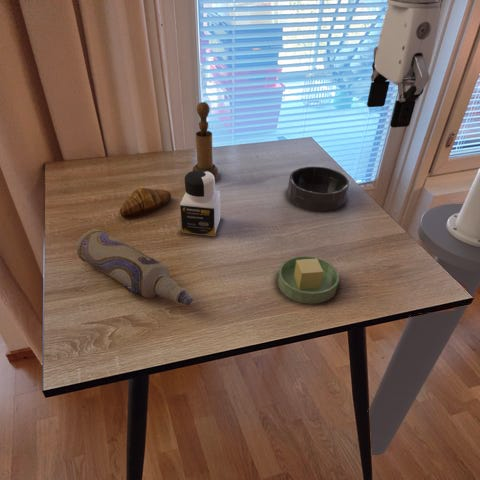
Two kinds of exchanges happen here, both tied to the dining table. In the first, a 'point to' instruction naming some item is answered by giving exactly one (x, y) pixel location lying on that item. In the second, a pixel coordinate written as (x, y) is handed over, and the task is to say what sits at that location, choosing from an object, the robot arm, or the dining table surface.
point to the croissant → (144, 201)
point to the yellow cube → (308, 274)
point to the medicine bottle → (200, 204)
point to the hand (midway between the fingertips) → (386, 115)
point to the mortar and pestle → (204, 143)
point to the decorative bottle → (129, 267)
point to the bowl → (317, 188)
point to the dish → (310, 295)
